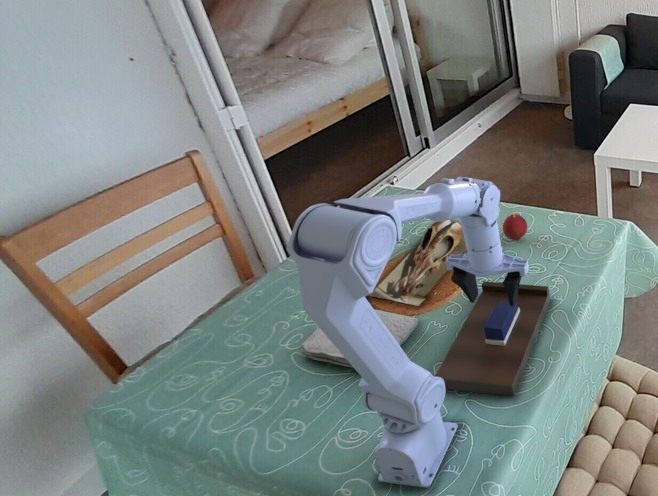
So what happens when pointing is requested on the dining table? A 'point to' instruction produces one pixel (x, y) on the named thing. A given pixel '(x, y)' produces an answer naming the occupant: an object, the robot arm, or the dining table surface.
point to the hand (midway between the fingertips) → (494, 300)
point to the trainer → (501, 323)
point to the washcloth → (325, 350)
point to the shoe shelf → (494, 360)
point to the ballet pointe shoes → (423, 264)
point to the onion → (514, 227)
